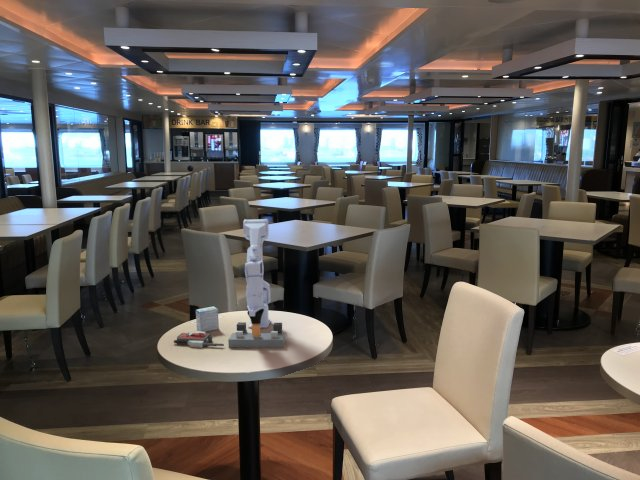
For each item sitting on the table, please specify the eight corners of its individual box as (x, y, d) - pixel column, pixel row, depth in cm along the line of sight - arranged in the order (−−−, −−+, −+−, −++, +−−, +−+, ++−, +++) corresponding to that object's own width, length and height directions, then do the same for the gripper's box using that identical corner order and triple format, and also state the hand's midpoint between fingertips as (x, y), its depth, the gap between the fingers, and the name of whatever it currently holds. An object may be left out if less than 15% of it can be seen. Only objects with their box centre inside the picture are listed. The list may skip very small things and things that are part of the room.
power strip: (232, 340, 198) (232, 327, 197) (285, 340, 196) (284, 328, 196) (228, 347, 191) (228, 334, 190) (282, 347, 189) (282, 334, 189)
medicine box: (215, 326, 214) (214, 306, 213) (219, 329, 211) (218, 308, 209) (196, 330, 210) (195, 309, 208) (200, 333, 206) (199, 312, 205)
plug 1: (242, 331, 207) (241, 317, 206) (249, 331, 207) (249, 317, 206) (237, 340, 198) (236, 324, 197) (244, 340, 198) (244, 325, 197)
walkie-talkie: (171, 347, 192) (223, 349, 189) (170, 336, 192) (222, 338, 189) (180, 339, 201) (230, 341, 198) (180, 328, 200) (230, 330, 197)
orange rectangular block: (253, 334, 193) (251, 323, 191) (261, 334, 193) (259, 323, 191) (252, 336, 192) (251, 325, 190) (260, 336, 192) (259, 325, 189)
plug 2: (277, 331, 206) (276, 317, 205) (284, 331, 206) (284, 317, 205) (273, 340, 197) (273, 325, 196) (281, 340, 197) (281, 325, 196)
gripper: (262, 299, 182) (263, 336, 184) (269, 288, 196) (270, 322, 199) (242, 299, 182) (244, 336, 185) (250, 288, 197) (252, 322, 199)
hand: (256, 329), depth 192 cm, fingers closed, pressing on orange rectangular block
